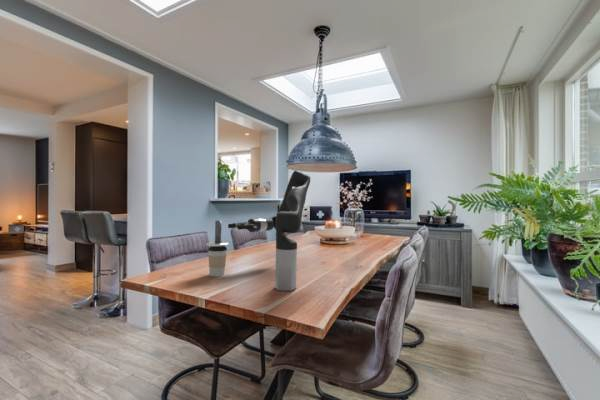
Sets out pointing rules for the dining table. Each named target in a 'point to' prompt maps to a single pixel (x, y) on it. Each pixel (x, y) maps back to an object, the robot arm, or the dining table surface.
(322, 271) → the dining table surface
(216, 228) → the grey post on base
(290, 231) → the robot arm
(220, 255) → the coffee cup
